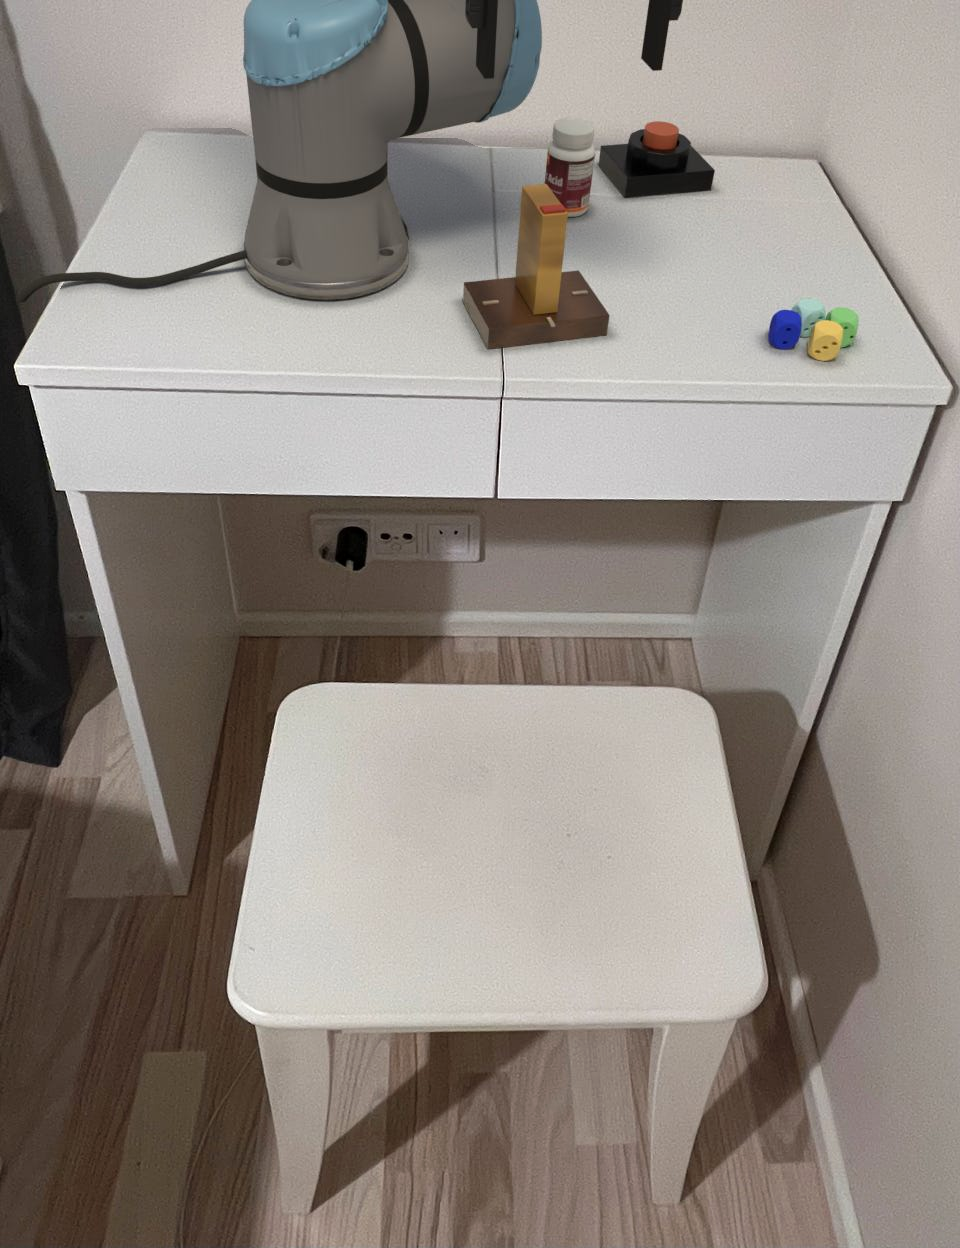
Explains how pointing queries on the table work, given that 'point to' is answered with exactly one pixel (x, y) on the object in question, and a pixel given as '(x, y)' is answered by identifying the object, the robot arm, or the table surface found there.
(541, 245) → the thumb turn
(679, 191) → the button box
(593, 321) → the lock plate
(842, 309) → the dice
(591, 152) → the pill bottle
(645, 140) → the bell button
